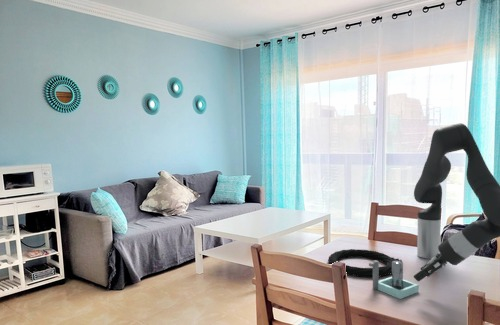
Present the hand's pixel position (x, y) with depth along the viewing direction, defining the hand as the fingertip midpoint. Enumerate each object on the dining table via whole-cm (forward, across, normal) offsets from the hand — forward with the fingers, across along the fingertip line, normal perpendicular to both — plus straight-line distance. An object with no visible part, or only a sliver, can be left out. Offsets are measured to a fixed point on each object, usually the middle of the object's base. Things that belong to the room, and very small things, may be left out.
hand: (419, 274), depth 122 cm
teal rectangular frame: (+11, +1, -1) cm, 11 cm away
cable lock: (+24, -17, -13) cm, 32 cm away
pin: (+10, 0, 0) cm, 10 cm away
